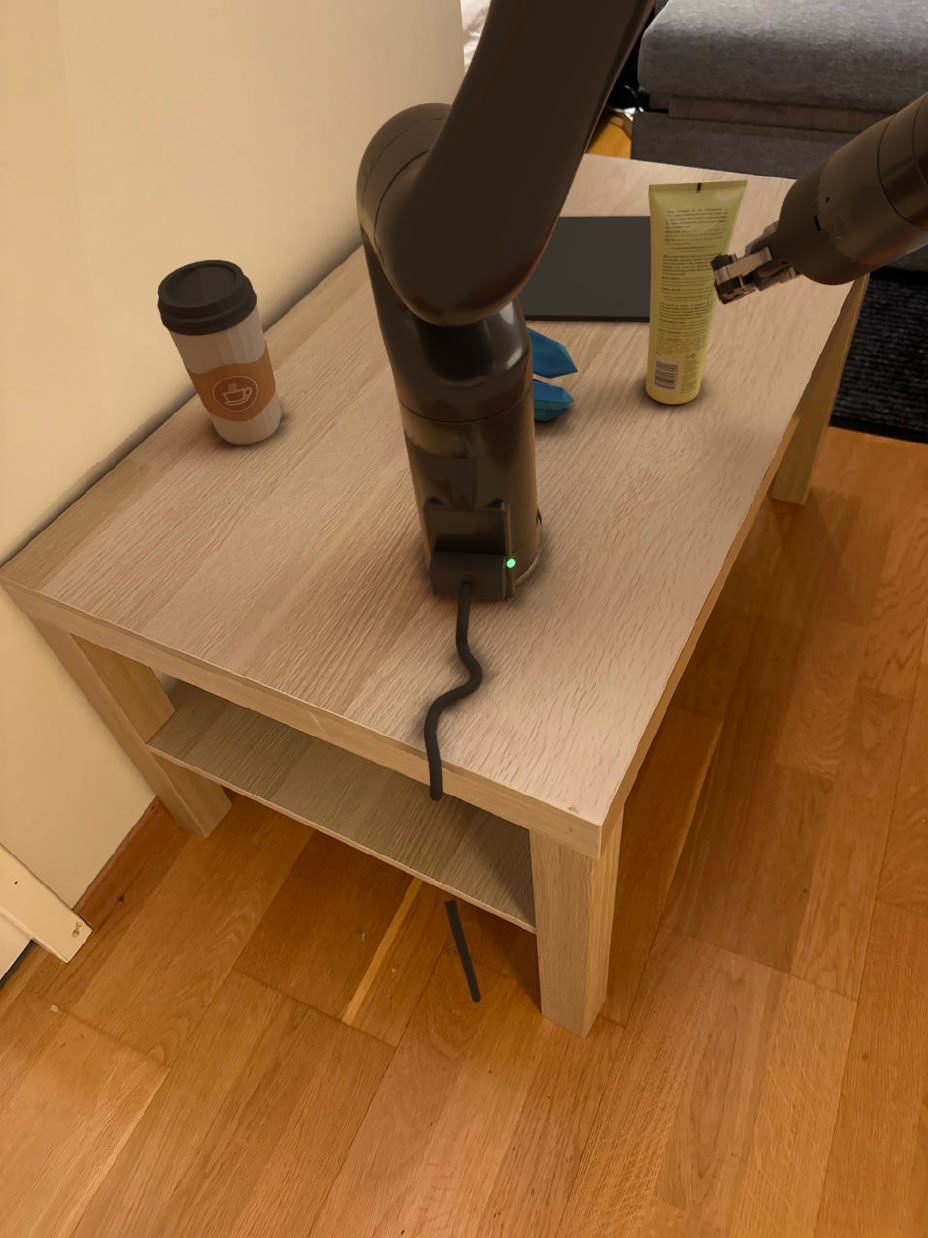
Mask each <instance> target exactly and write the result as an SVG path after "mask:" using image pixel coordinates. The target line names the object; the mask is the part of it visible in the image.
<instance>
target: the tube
mask: <svg viewBox="0 0 928 1238" xmlns="http://www.w3.org/2000/svg"><path fill="white" fill-rule="evenodd" d="M747 188H748V178H736V179H734V178H733V179H721V180H705V181H704V180H702V181H681V182H659V183H650V184H648V192H647V195H648V207H649V216H650V221H651V300H650V321H649V326H648V327H649V328H648V329H649V331H648V332H649V333H648V347H647V362H646V363H647V365H646V378H645V379H646V380H645V389H646V393H647V395H648V396H649V397H650V398H651V399H653V400H655V401H656V402H659V403H662V404H667V405H678V404H679V405H680V404H685V403H688V402H690V401H692V400H694V399H695V398H696V397H697V396H698V394H699V393H700V387H701V382H702V377H703V371H704V367H705V363H706V362H705V361H706V358H707V357H706V356H707V352H708V346H709V342H710V338H711V337H710V336H711V331H712V326H713V322H714V317H715V312H716V308H717V302H718V300H719V298H718V295H717V292H716V289H715V286H714V283H715V275H714V272H713V269H712V266H711V263H710V262H711V261H712V260H714V259H715V257H716V256H718V255H721V254H722V255H725V254H728V255H729V251H730V247H731V243H732V239H733V235H734V231H735V228H736V224H737V220H738V216H739V214H740V209H741V206H742V203H743V200H744V197H745V194H746V191H747Z"/></svg>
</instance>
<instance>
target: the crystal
mask: <svg viewBox="0 0 928 1238" xmlns="http://www.w3.org/2000/svg"><path fill="white" fill-rule="evenodd" d="M527 328H528V332H529V335H530V339H531V346H532V360H533V375H536V376H537V377H538V376H539V377H542V378H544V379H547V380H548V379H549V380H552V379H555V378H560V377H564V376H568V375H572V374H576V373H578V372H579V370H578V369H577V366H576V365H575V363H574V361H573V359H572V357H571V355H570V353H569V351H568V350H567V348H566V346H565V345H564V344H562V343H560V342H558V341H556V340H554V339H552V338H550V337H548V336H546V335H544V334H542V333H541V332H538V331H537V330H534V329H532V328H530V327H528V326H527ZM533 394H534V420H538V421H542V422H549V421H550V420H552V419H554V418H556V417H559V416H560V415H563V414H564V413H566V412H568V411H570V410H571V408H570V406H569V405H571V404H572V403H573V402H575V400H574V398H573V397H572V396H571V395H570V394H569V392H568V391H567V390H566V389H565V388H564V387H562V386H557V385H553V384H551V383H547V382H545V381H542V380H540V379H536V378H534V377H533Z"/></svg>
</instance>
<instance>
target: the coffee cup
mask: <svg viewBox="0 0 928 1238" xmlns="http://www.w3.org/2000/svg"><path fill="white" fill-rule="evenodd" d="M157 296H158V298H157V305H156V306H157V309H158V313H159V315H160V317H159V318H160V321H161V323H162V326H164V327H165V328H166V329H167V330H168V332H169V335H170V338H171V339H172V341H173V343H174V345H175V347H176V350H177V352H178V354H179V356H180V358H181V360H182V362H183V366H184V368H185V370H186V373H187V374H188V376H189V378H190V380H191V382H192V385H193V387H194V389H195V391H196V393H197V396H198V397H199V399H200V401H201V403H202V405H203V408H204V409H205V410H206V412H207V414H208V416H209V418H210V420H211V423H212V424H213V427H214V429H215V431H216V433H217V434H218V435H219V436H220V437H221V438H223V439H224V440H225V441H227V442H229V443H231V444H235V445H251V444H256V443H258V442H259V443H260V442H262V441H264V440H266V439H268V438H269V437H270V436H271V435H273V434H274V433H275V432H276V431H277V429H278V428H279V425H280V420H281V418H282V410H281V406H280V402H279V401H280V400H279V397H278V393H277V389H276V388H277V385H276V384H277V383H276V380H275V375H274V371H273V367H272V362H271V357H270V353H269V348H268V344H267V341H266V339H265V335H264V331H263V326H262V322H261V318H260V314H259V313H260V312H259V309H258V305H257V304H258V295H257V293H256V291H255V289H254V286H253V284H252V282H251V280H250V278H249V277H248V276H247V275H245V273H244V272H243V269H242V268H241V267H240V266H239V265H238V264H236V263H234V262H231V261H229V260H224V259H205V260H199V261H195V262H191V263H188V264H185V265H182V266H181V267H178V268H176V269H174V270H173V271H172V272H170V273H168V274H167V275H166V276H165V277H164V278H163V279H162V280H161V282H160V283H159V285H158V286H157Z"/></svg>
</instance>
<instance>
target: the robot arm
mask: <svg viewBox="0 0 928 1238" xmlns="http://www.w3.org/2000/svg"><path fill="white" fill-rule="evenodd" d="M657 1H658V0H490V1H489V5H488V9H487V14H486V16H485V20H484V23H483V26H482V29H481V33H480V35H479V39H478V41H477V45H476V47H475V50H474V52H473V55H472V58H471V60H470V63H469V64H468V68H467V70H466V72H465V74H464V75H463V76H464V77H463V79H462V81H461V83H460V86H459V88H458V90H457V92H456V94H455V97H454V99H453V101H452V103H451V104H450V103H445V102H425V103H419V104H415V105H412V106H410V107H407V108H405V109H403V110H400V111H398V112H397V113H396V114H394V115H393V116H391V117H390V118H389V119H387V120H386V121H385V122H384V123H383V124H381V126H380V127H379V129H378V130H377V131H376V132H375V133H374V134H373V136H372V138H371V139H370V141H369V142H368V143H367V146H366V148H365V150H364V152H363V154H362V157H361V160H360V163H359V166H358V170H357V175H356V184H355V204H356V213H357V219H358V226H359V231H360V236H361V241H362V247H363V251H364V258H365V262H366V266H367V272H368V276H369V281H370V287H371V292H372V296H373V301H374V305H375V311H376V315H377V321H378V325H379V329H380V333H381V334H380V335H381V338H382V342H383V345H384V347H385V351H386V355H387V358H388V363H389V365H390V368H391V373H392V377H393V382H394V386H395V391H396V397H397V401H398V409H399V412H400V420H401V425H402V430H403V434H404V435H403V437H404V442H405V447H406V453H407V458H408V462H409V469H410V476H411V480H412V487H413V492H414V497H415V503H416V509H417V514H418V520H419V526H420V531H421V535H422V542H423V546H424V547H423V549H424V550H423V551H424V559H425V565H426V567H427V570H428V576H429V582H430V586H431V594H432V596H434V597H447V598H458V599H457V601H458V602H457V609H456V619H455V621H456V622H455V637H454V639H455V647H456V651H457V654H458V656H459V659H460V661H461V662H462V663H463V665H464V666H465V667H466V669H467V670H468V671H469V673H470V674H469V678H468V680H466V682H465V683H464V684H461V685H459V686H457V687H455V688H453V689H450V690H448V691H446V692H444V693H442V694H441V695H439V696H438V697H436V699H435V700H433V702H432V703H431V705H430V707H429V709H428V711H427V713H426V715H425V719H424V723H423V739H424V745H425V750H426V757H427V762H428V771H429V797H430V798H431V800H432V801H435V802H438V801H440V800H441V799H442V797H443V796H444V780H443V779H444V778H443V777H444V776H443V766H442V765H443V764H442V759H441V751H440V747H439V741H438V732H437V729H438V723H439V720H440V717H441V715H442V713H443V711H444V710H445V709H446V707H448V706H449V705H451V704H453V703H456V702H458V701H460V700H462V699H464V698H466V697H468V696H470V695H472V694H473V693H475V692H476V691H477V690H478V689H479V687H481V683H482V681H483V677H484V676H483V675H484V674H483V668H482V667H481V664H480V663H479V661H478V660H477V659H476V657H475V656H474V655H473V654H472V651H471V650H470V646H469V640H468V636H469V621H470V612H471V611H470V610H471V602H472V599H477V600H478V599H479V600H493V601H504V600H505V599H506V598H507V599H512V598H513V597H514V596H515V591H516V588H517V587H519V585H521V584H522V583H524V582H525V581H526V580H527V579H529V577H531V575H532V574H533V573H534V571H535V570H536V568H537V566H538V564H539V561H540V558H541V539H540V534H539V524H540V526H541V527H543V518H542V515H541V514H542V513H541V512H540V509H539V507H538V485H537V484H538V483H537V458H536V433H535V432H536V429H535V419H534V394H533V378H534V374H533V360H532V346H531V339H530V335H529V332H528V328H529V327H528V325H527V322H526V320H525V319H524V316H523V313H522V310H521V306H520V303H519V299H518V293H519V292H520V291H521V290H522V289H523V288H524V286H525V285H526V284H527V282H528V281H529V279H530V278H531V276H532V274H533V273H534V271H535V269H536V267H537V266H538V264H539V262H540V260H541V258H542V256H543V254H544V252H545V249H546V247H547V245H548V243H549V240H550V238H551V235H552V233H553V231H554V228H555V226H556V223H557V221H558V218H559V217H561V216H560V215H561V213H562V210H563V208H564V206H565V203H566V201H567V198H568V196H569V194H570V191H571V188H572V187H573V183H574V182H575V181H574V180H575V178H576V175H577V174H578V171H579V169H580V165H581V163H582V162H583V159H584V157H585V154H586V151H587V148H588V146H589V144H590V141H591V139H592V136H593V134H594V132H595V129H596V127H597V124H598V123H599V119H600V117H601V115H602V113H603V110H604V107H606V106H605V105H606V103H607V101H608V99H609V97H610V95H611V92H612V90H613V88H614V86H615V84H616V82H617V80H618V78H619V76H620V74H621V72H622V70H623V68H624V66H625V64H626V62H627V60H628V59H629V56H630V55H631V52H632V51H633V48H634V46H635V45H636V42H637V41H638V39H639V37H640V36H641V33H642V31H643V29H644V27H645V25H646V23H647V21H648V19H649V18H650V15H651V13H652V12H653V10H654V8H655V5H656V3H657ZM927 245H928V91H926V92H925V93H923V94H922V95H921V96H920V97H918V98H916V99H915V100H914V101H913V102H911V103H909V104H908V105H907V106H905V107H904V108H903V109H901V110H900V111H898V112H895V113H894V114H892V115H889V116H888V117H886V118H884V119H882V120H880V121H878V122H876V123H875V124H873V125H871V126H870V127H868V128H867V129H865V130H864V131H862V132H861V133H859V134H858V135H857V136H855V137H854V138H853V139H851V140H850V141H849V142H847V143H846V144H844V145H842V146H841V147H840V148H839V149H837V150H835V151H834V152H833V153H831V154H830V155H828V156H827V157H826V158H824V159H823V160H822V161H820V162H819V163H817V164H816V165H815V166H813V167H812V168H810V169H809V170H808V171H806V172H805V173H804V174H803V175H801V176H800V177H799V178H797V179H796V180H795V182H793V184H792V185H791V186H790V188H789V189H788V191H787V192H786V195H785V196H784V198H783V201H782V204H781V207H780V211H779V217H778V219H777V220H775V221H773V222H772V223H770V224H769V225H767V226H766V227H764V229H763V230H762V234H760V235H759V236H758V237H756V238H755V239H754V240H752V241H750V242H748V244H746V245H745V247H744V255H742V256H740V257H737V253H736V252H732V253H728V254H725V255H722V254H721V255H718V256H716V257H715V259H714V260H712V261H711V262H710V263H711V266H712V269H713V272H714V275H715V283H714V286H715V289H716V292H717V295H718V301H719V302H721V304H722V305H728V304H730V303H733V302H735V301H738V300H741V299H743V298H744V297H746V296H748V295H751V294H753V293H755V292H756V291H758V292H763V291H767V290H769V289H772V288H775V287H777V286H778V285H780V284H782V285H783V284H785V283H788V282H790V281H793V280H796V279H798V278H801V277H802V276H803V277H805V278H807V279H809V280H810V281H812V282H814V283H816V284H819V285H824V286H843V285H846V284H849V283H852V282H854V281H856V280H858V279H860V278H862V277H864V276H866V275H868V274H870V273H872V272H875V271H876V270H879V269H880V268H883V267H885V266H887V265H889V264H891V263H893V262H894V261H897V260H898V259H901V258H903V257H905V256H907V255H909V254H912V253H913V252H916V251H918V250H919V249H922V248H923V247H925V246H927ZM527 327H528V328H527ZM443 904H444V907H445V912H446V915H447V919H448V923H449V926H450V927H449V928H450V929H451V933H452V937H453V940H454V943H455V947H456V950H457V952H458V956H459V959H460V962H461V966H462V969H463V972H464V975H465V979H466V981H467V985H468V989H469V992H470V997H471V1001H472V1002H473V1003H475V1004H477V1003H480V1002H481V1000H482V995H481V992H480V987H479V983H478V980H477V975H476V972H475V967H474V965H473V961H472V958H471V954H470V950H469V948H468V943H467V940H466V936H465V933H464V929H463V925H462V921H461V917H460V913H459V909H458V904H457V899H456V898H453V899H450V900H447V901H444V903H443Z"/></svg>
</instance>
